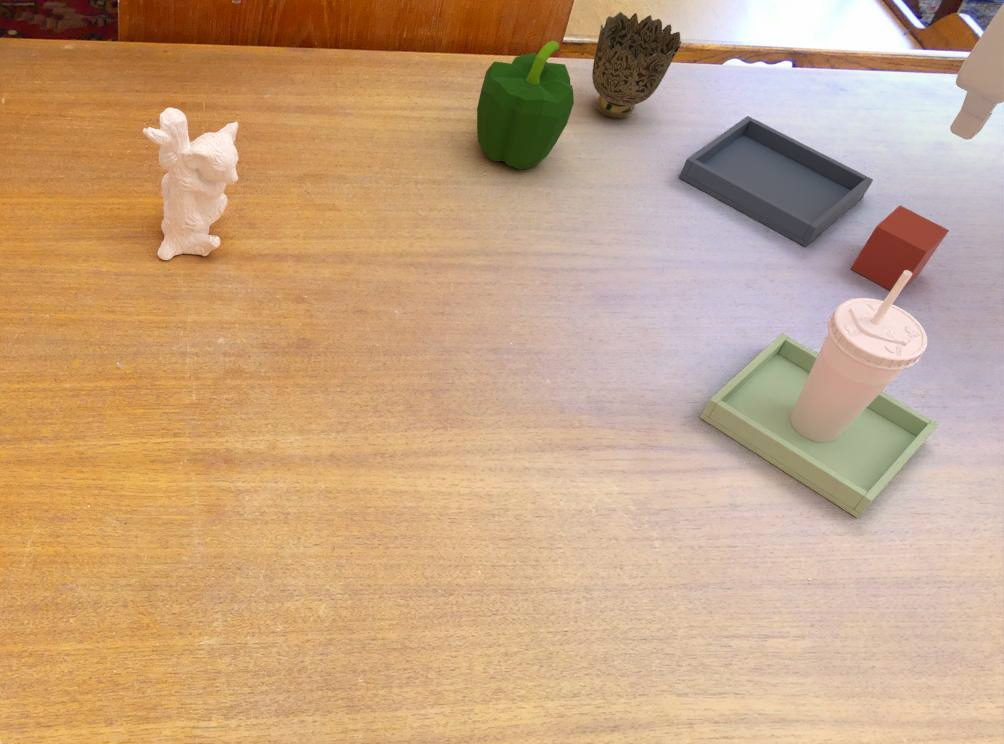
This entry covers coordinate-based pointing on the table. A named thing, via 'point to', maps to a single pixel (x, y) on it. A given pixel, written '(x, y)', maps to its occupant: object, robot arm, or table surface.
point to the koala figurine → (192, 182)
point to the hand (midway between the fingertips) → (987, 111)
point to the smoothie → (857, 363)
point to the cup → (631, 62)
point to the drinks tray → (821, 466)
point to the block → (898, 247)
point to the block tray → (775, 180)
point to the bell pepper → (524, 108)
